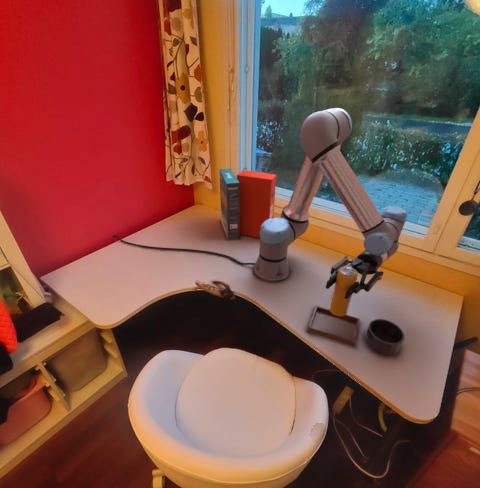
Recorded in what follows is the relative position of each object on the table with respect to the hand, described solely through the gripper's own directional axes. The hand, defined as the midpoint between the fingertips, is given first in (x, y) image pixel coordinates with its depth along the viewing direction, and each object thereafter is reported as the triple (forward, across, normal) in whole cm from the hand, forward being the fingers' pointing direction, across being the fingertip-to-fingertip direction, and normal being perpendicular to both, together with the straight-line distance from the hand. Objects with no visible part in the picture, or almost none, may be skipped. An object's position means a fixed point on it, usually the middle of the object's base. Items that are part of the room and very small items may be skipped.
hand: (336, 290), depth 85 cm
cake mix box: (-27, +77, -20) cm, 84 cm away
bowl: (-10, -14, -20) cm, 27 cm away
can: (-5, 0, -12) cm, 13 cm away
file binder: (-34, +64, -20) cm, 75 cm away
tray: (-5, 0, -20) cm, 21 cm away
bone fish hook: (+11, +42, -20) cm, 48 cm away
